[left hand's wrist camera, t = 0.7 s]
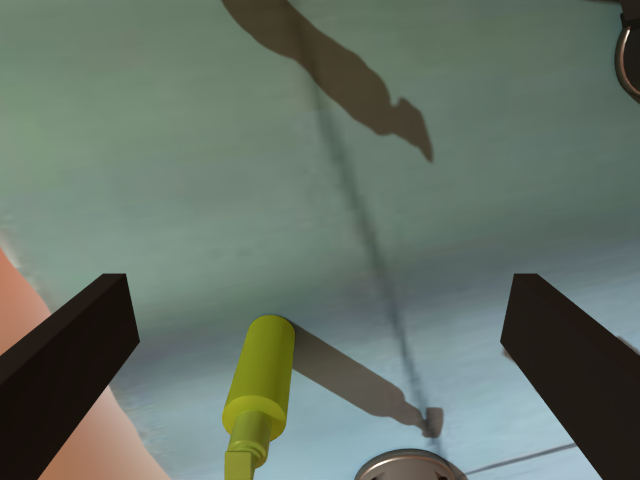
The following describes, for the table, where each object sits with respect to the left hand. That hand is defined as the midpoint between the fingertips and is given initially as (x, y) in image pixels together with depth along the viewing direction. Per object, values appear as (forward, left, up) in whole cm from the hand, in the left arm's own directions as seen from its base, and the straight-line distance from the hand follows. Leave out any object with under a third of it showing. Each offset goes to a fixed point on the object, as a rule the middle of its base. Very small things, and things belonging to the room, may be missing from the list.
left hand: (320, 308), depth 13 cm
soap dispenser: (-20, +6, -28) cm, 35 cm away
